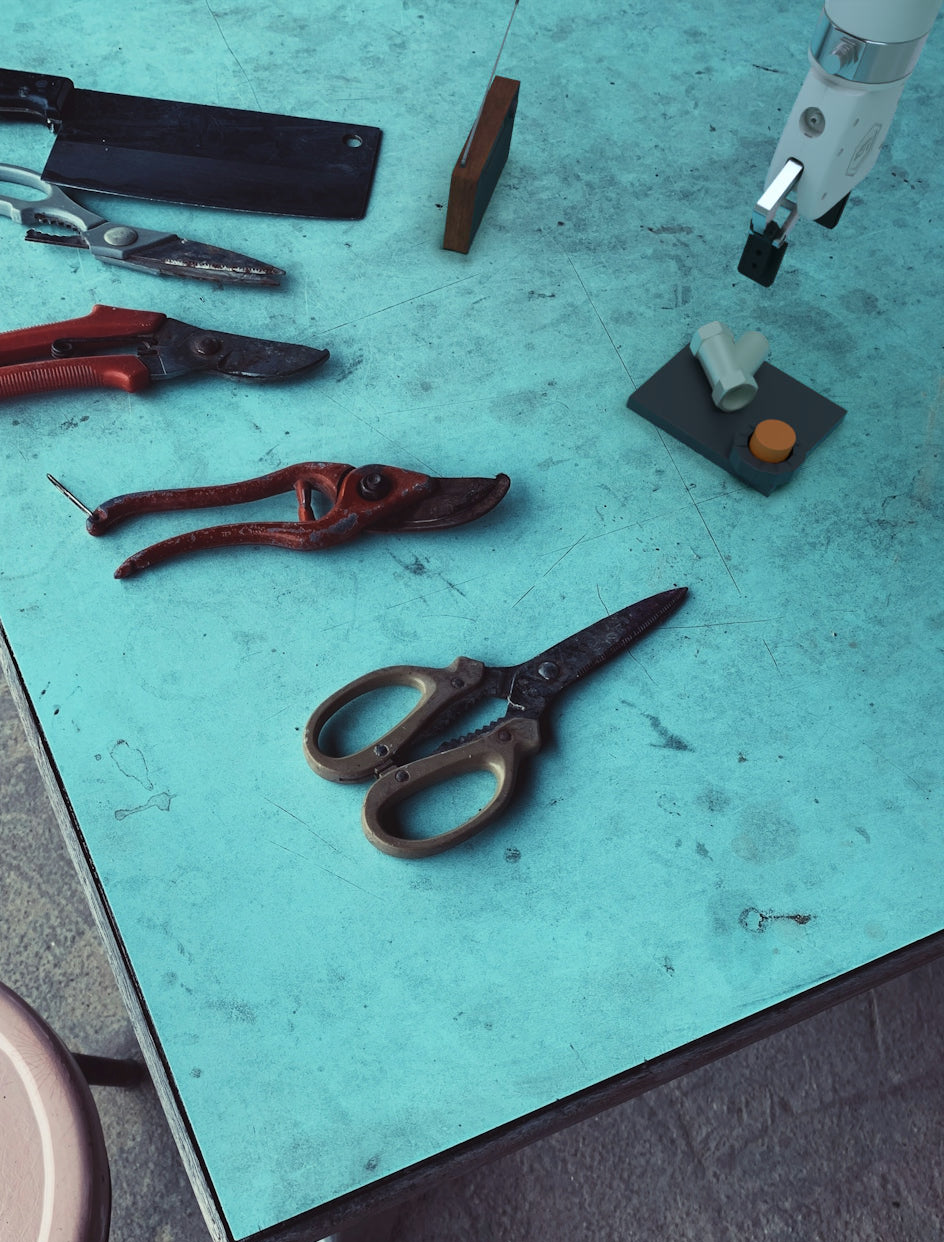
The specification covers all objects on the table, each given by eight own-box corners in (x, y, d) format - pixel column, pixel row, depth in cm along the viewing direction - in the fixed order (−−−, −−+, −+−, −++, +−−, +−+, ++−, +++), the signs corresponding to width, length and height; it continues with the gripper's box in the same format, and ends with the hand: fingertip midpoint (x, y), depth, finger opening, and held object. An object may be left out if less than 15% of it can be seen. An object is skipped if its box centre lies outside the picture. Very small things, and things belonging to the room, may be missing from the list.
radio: (470, 256, 122) (491, 115, 109) (442, 249, 122) (459, 107, 109) (516, 146, 130) (541, 2, 117) (489, 140, 130) (511, -5, 117)
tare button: (796, 448, 108) (803, 434, 106) (774, 470, 107) (781, 456, 105) (763, 427, 109) (769, 413, 107) (741, 448, 108) (747, 434, 106)
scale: (849, 425, 113) (862, 402, 110) (769, 507, 108) (780, 485, 106) (703, 336, 118) (712, 312, 115) (620, 411, 113) (628, 387, 110)
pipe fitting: (749, 349, 116) (685, 353, 115) (766, 316, 112) (700, 320, 111) (778, 410, 112) (712, 414, 111) (796, 378, 109) (729, 382, 108)
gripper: (849, 117, 81) (767, 324, 96) (975, 9, 87) (879, 219, 102) (755, 71, 83) (690, 280, 98) (884, -32, 89) (804, 180, 104)
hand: (786, 249), depth 100 cm, fingers open, 9 cm apart
